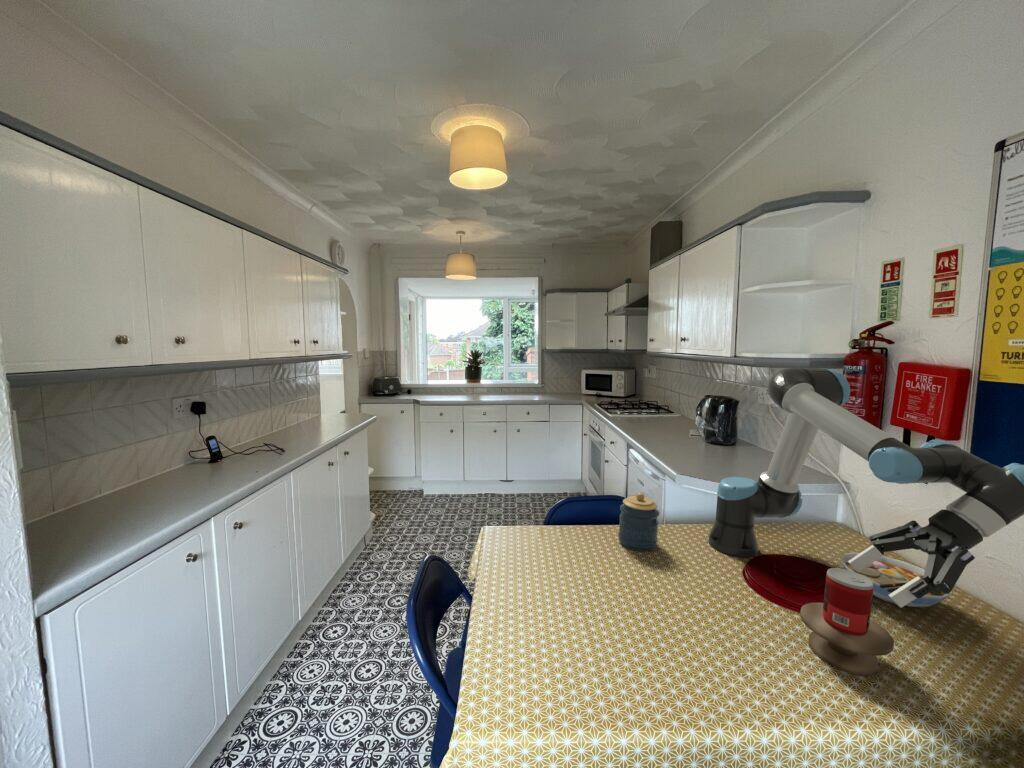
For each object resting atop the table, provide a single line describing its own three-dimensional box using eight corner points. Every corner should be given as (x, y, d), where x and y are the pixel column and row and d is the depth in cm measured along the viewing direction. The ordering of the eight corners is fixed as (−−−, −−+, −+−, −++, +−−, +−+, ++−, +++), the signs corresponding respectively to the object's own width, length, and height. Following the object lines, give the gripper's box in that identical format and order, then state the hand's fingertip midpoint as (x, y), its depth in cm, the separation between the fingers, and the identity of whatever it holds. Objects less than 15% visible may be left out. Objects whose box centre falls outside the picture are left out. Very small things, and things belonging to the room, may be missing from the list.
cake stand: (795, 657, 90) (798, 627, 90) (800, 621, 103) (802, 594, 102) (894, 697, 80) (898, 663, 80) (886, 651, 93) (889, 622, 92)
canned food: (877, 639, 87) (883, 589, 86) (834, 633, 88) (839, 584, 87) (853, 616, 94) (859, 570, 93) (815, 611, 95) (819, 565, 95)
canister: (625, 531, 152) (628, 484, 150) (662, 542, 144) (665, 492, 143) (612, 544, 141) (615, 493, 140) (650, 556, 133) (653, 503, 132)
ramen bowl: (880, 572, 129) (883, 547, 128) (976, 619, 106) (980, 588, 106) (814, 578, 123) (817, 552, 123) (901, 629, 101) (905, 597, 100)
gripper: (1042, 568, 72) (931, 635, 76) (929, 513, 96) (849, 566, 101) (1009, 535, 73) (901, 603, 77) (905, 489, 97) (827, 543, 101)
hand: (871, 582), depth 89 cm, fingers open, 13 cm apart
